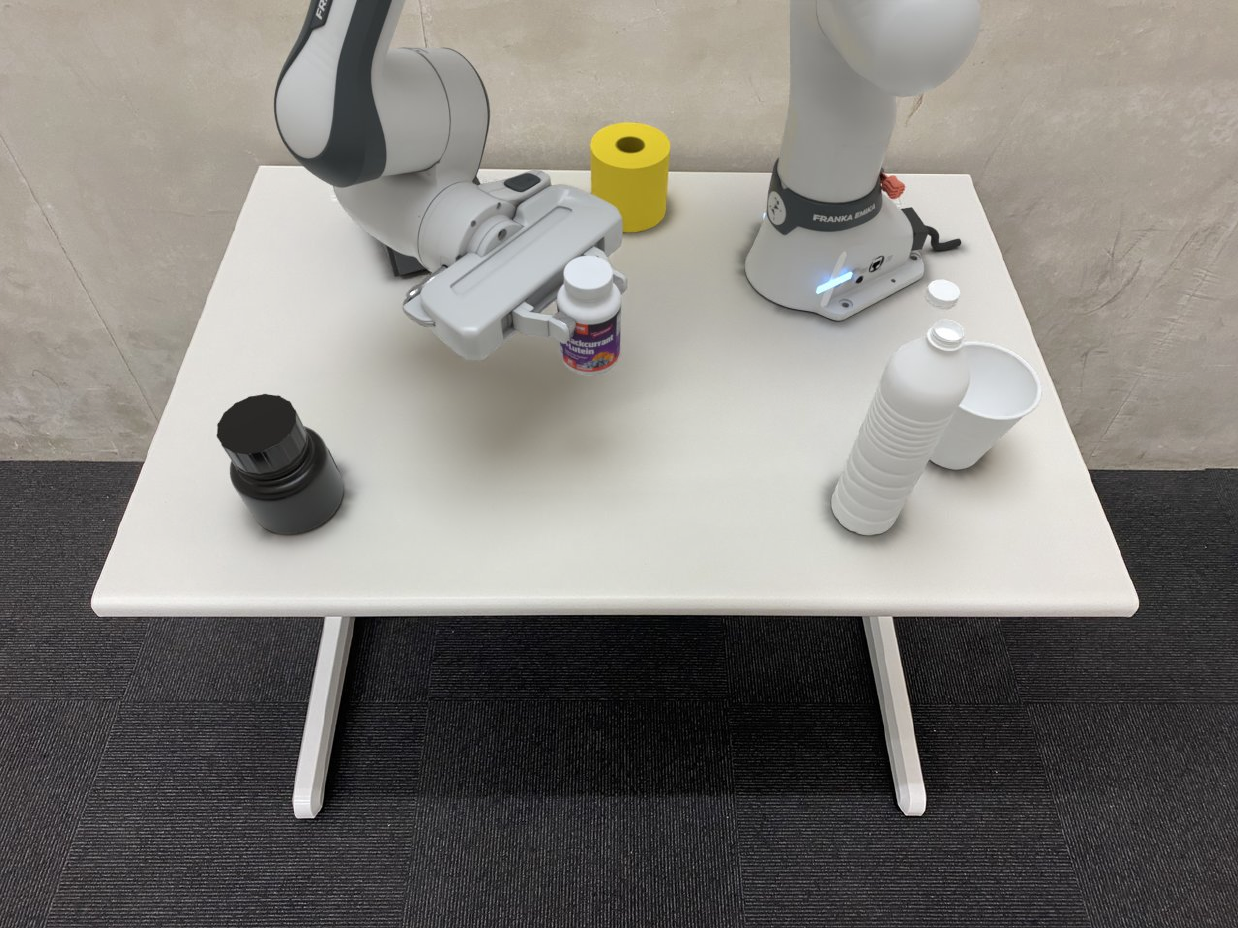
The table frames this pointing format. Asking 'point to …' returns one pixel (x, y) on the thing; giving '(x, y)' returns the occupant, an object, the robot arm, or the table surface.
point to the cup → (987, 404)
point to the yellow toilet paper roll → (631, 172)
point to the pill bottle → (591, 316)
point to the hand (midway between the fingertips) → (597, 310)
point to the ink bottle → (279, 465)
